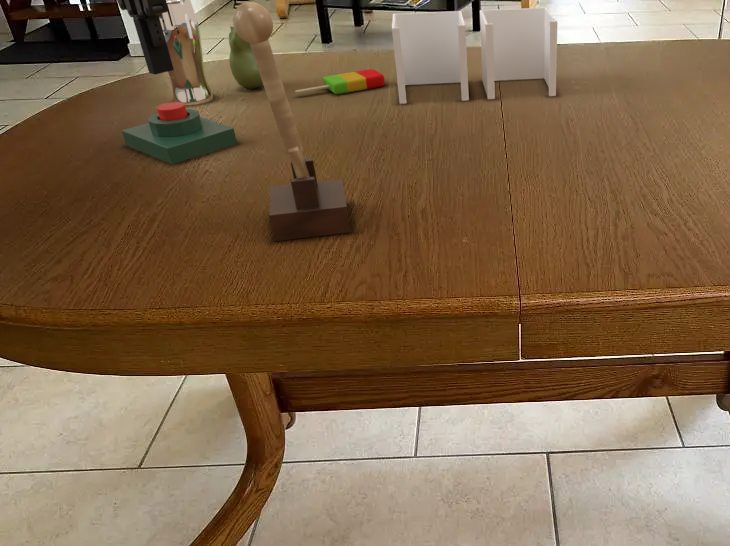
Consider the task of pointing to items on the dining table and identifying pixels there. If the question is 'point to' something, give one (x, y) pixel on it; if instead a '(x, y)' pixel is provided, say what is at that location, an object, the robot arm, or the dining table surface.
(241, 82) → the pear
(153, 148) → the button box
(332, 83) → the popsicle
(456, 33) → the twin white cubbies
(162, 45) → the robot arm
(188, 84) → the beer glass
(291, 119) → the wooden rod
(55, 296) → the dining table surface
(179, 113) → the button
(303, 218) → the holder
